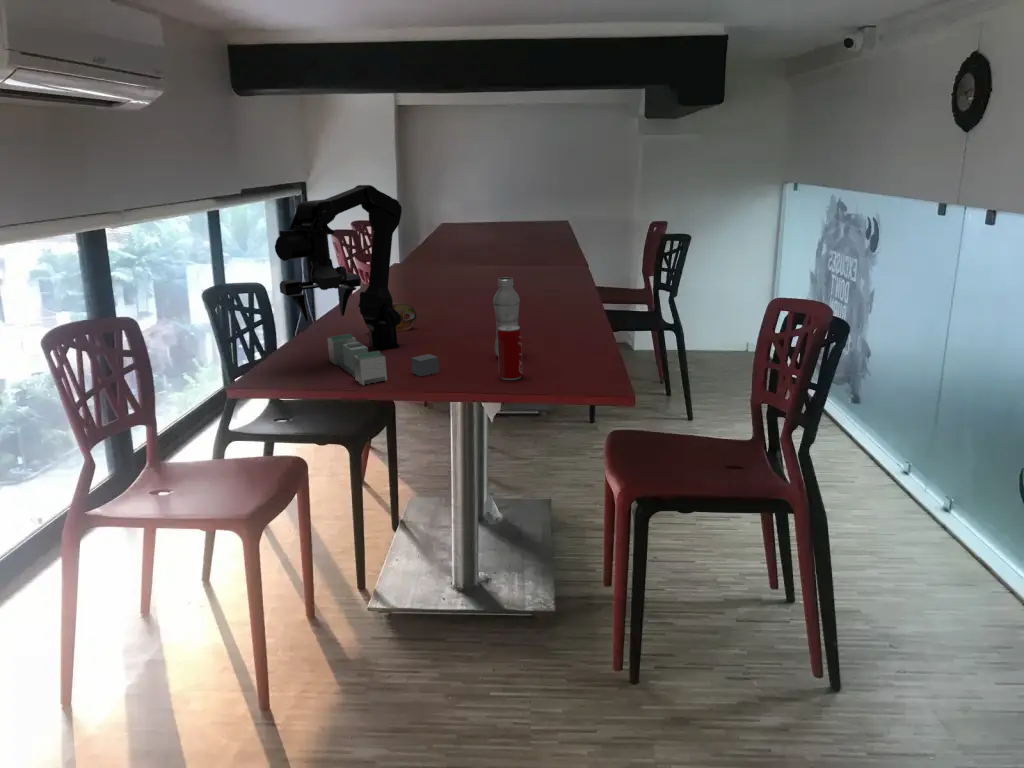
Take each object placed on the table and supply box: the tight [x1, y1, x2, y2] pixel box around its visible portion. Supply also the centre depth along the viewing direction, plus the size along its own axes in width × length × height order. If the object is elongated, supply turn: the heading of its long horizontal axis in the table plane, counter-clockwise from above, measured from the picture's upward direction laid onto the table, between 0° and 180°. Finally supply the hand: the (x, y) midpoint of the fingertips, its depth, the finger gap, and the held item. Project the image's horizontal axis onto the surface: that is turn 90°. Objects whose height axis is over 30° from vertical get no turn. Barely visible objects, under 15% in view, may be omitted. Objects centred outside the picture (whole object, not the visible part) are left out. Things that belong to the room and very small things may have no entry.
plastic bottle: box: [492, 276, 521, 357], centre depth 194 cm, size 6×7×20 cm
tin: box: [365, 302, 417, 333], centre depth 228 cm, size 15×3×8 cm, turn 114°
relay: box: [410, 353, 440, 377], centre depth 185 cm, size 5×4×4 cm
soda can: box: [497, 325, 524, 381], centre depth 178 cm, size 6×6×12 cm
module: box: [342, 341, 369, 370], centre depth 189 cm, size 4×7×5 cm, turn 29°
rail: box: [327, 333, 388, 386], centre depth 189 cm, size 6×26×7 cm, turn 29°
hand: (324, 318), depth 192 cm, fingers open, 9 cm apart
